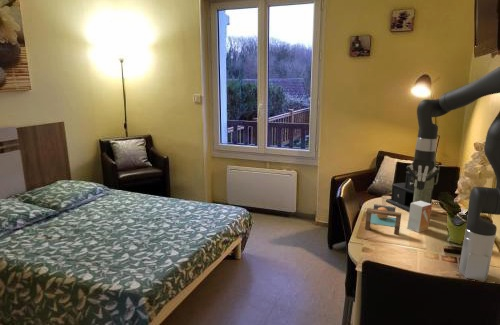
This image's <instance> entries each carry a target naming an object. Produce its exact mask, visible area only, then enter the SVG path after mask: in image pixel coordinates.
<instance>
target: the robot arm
mask: <svg viewBox="0 0 500 325" xmlns="http://www.w3.org/2000/svg"><path fill="white" fill-rule="evenodd" d="M495 94H500V66H499V67H497V68H495V69H493V70H491V71H490V72H488V73H487V74H485V75H483V76H481V77H480V78H478V79H476V80H474V81H472V82H470V83H467V84H465V85H462V86H461V87H459V88H458V87H457V88H454V89H453V90H450V91H447V92H446V93H443V94H442V95H441V96H440V97H439V98H437V99H422V100H421V101H420V102H418V105H417V108H416V117H417V124H418V131H417V139H416V143H415V148H414V149H415V150H414V156H413V161H412V163H411V164H410V165H407V166H406V170H407V171H409V173H410V174H411V176H412V177H413V179H416V180H417V188H418V190H422V189H424V185H425V181H430V180H431V179H432V178H433V177H434V176H435V177H436V176H437V174H438V173H439V174H440V170H439V169H438V167H436V166H435V164H434V158H436V152H437V142H438V141H437V138H438V131H439V125H437V124H436V123H435V122H434V123H433V118H439V117H442V116H444V115H446V114H448V113H450V112H451V111H455V110H458V109H460V108H464V107H466V106H468V105H470V104H472V103H473V102H475V101H477V100H478V99H481V98H484V97H486V96H490V95H491V96H492V95H495ZM484 141H485V142H484V147H483V151H484V155H485V157H486V159H487V161H488V164H490V166H491V168H492V170H493V173H494V175H495V179H496V180H495V181H496V182H495V183H496V185H495V188H494V187H487V186H486V187H485V186H474V187H472V188H471V191H470V194H469V200H468V208H467V211H468V215H467V224H466V229H465V235H464V240H463V242H462V247H461V252H460V259H459V267H458V272H459V273H460V274H461V275H462V276H463V277H464V278H465V279H469V280H470V279H471V280H476V281H480V282H486V280H487V279H488V277H489V271H490V267H491V266H490V265H491V262H492V261H491V260H492V257H493V256H492V255H493V249H494V245H495V239H496V235H497V225H496V224H494V223H493V222H492V221H489V220H487V219H484V218H483V217H481V214H486V215H495V216H496V215H497V216H500V110H499V112H498V113H497V114H496V116H495V118H494V119H493V120H492V123H490V126H489V128H488V130H487V132H486V136H485V140H484ZM413 167H414V168H415V171H417V172H418V176H416V175H415V174H414V172H413ZM432 169H433V170H432ZM431 170H432V171H433V172H432V173H431V174H430V175H429V176H428V177H426V176H427V173H429V172H430V171H431ZM421 173H423V176H422V180H421Z"/></svg>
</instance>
